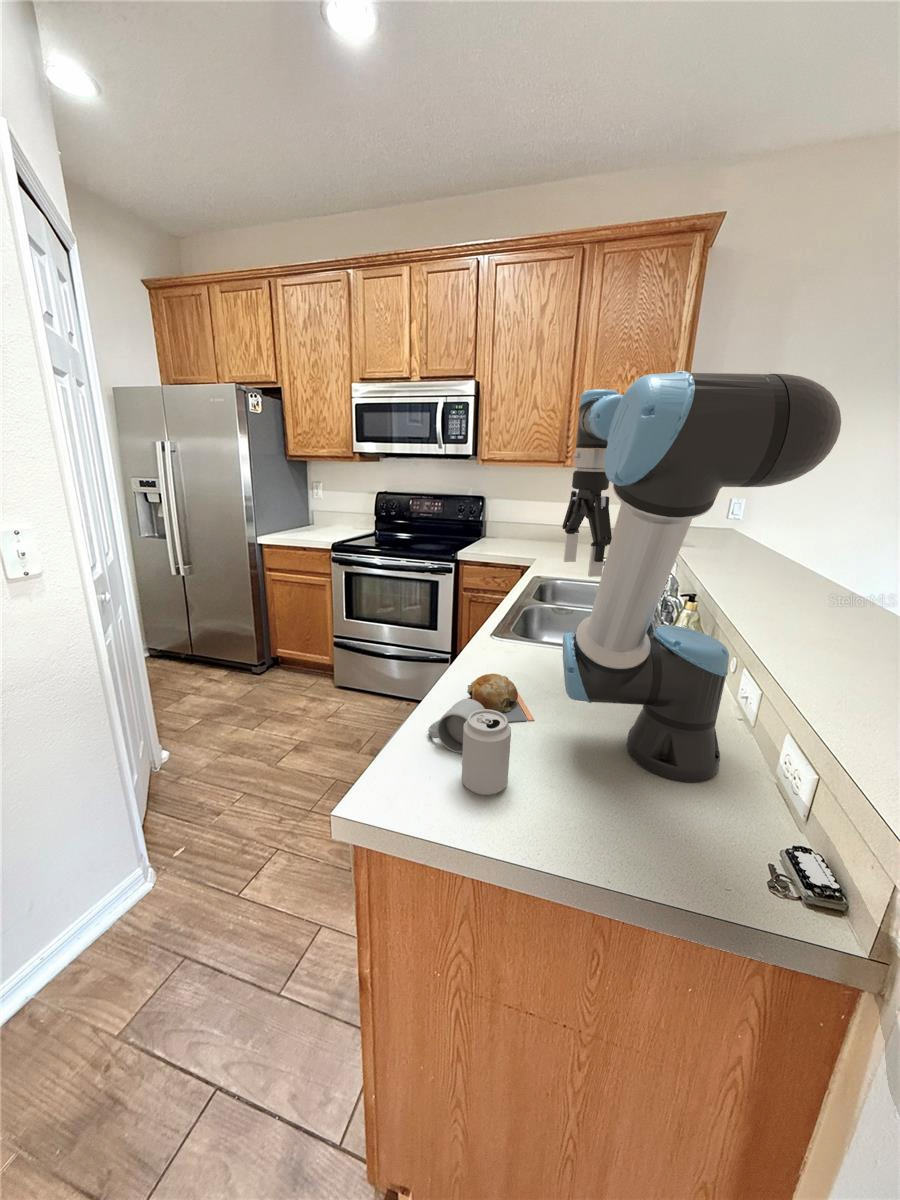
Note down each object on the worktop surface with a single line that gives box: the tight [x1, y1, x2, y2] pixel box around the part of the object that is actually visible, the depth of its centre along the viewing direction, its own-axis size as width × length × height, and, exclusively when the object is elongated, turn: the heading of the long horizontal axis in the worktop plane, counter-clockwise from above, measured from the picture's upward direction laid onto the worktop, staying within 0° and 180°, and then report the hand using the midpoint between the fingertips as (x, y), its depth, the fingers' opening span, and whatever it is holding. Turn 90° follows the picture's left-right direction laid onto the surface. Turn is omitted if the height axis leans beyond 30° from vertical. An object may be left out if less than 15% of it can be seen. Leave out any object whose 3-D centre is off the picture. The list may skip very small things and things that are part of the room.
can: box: [461, 709, 512, 796], centre depth 77 cm, size 8×8×12 cm
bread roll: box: [466, 673, 519, 713], centre depth 102 cm, size 10×10×8 cm
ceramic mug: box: [427, 698, 485, 754], centre depth 89 cm, size 11×8×8 cm
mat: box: [467, 684, 535, 724], centre depth 104 cm, size 16×10×1 cm, turn 9°
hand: (581, 568), depth 108 cm, fingers open, 13 cm apart
